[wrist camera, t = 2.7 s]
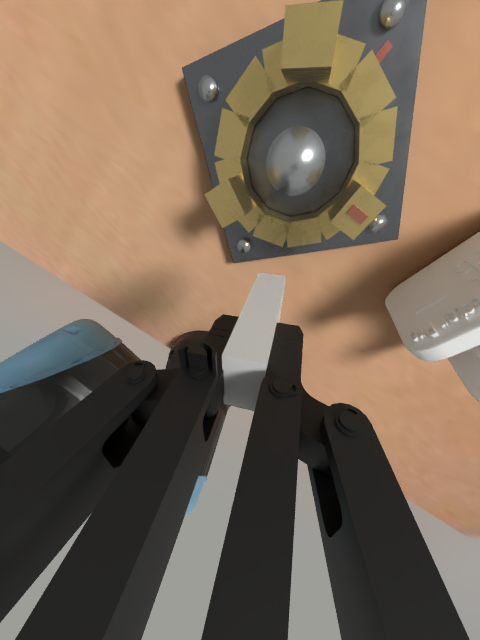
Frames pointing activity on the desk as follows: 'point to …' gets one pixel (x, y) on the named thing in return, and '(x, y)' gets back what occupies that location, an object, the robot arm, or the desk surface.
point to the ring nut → (288, 76)
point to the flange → (313, 126)
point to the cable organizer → (443, 312)
